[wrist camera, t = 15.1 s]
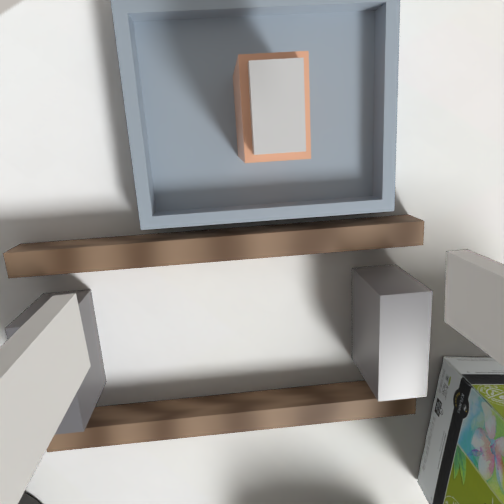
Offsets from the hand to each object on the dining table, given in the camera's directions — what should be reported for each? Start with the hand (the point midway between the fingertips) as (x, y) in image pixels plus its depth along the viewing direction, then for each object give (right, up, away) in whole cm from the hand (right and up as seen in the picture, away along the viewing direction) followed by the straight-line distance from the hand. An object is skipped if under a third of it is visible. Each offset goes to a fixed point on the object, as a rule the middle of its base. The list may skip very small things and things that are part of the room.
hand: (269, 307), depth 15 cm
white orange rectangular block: (0, +13, +19) cm, 22 cm away
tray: (0, +13, +19) cm, 23 cm away
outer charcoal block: (+11, -4, +25) cm, 27 cm away
